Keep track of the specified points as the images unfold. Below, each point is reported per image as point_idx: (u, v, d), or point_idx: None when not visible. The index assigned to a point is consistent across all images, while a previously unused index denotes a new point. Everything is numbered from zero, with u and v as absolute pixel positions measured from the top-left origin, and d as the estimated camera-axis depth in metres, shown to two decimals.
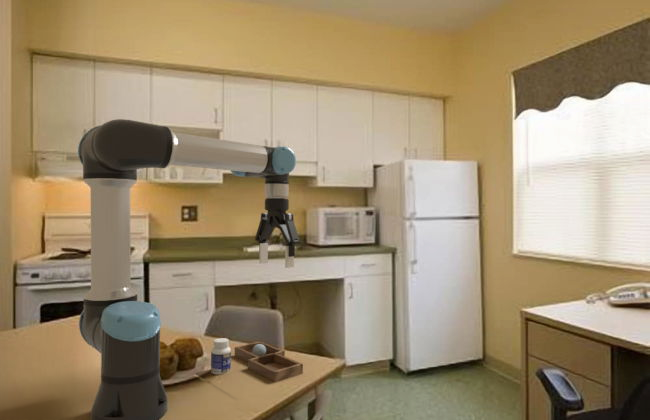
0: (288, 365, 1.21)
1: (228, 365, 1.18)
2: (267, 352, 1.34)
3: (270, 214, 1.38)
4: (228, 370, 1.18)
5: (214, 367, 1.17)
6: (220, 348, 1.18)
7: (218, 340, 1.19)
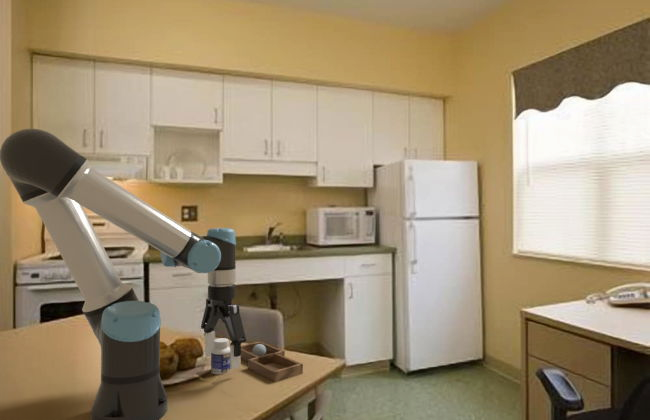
0: (288, 365, 1.21)
1: (228, 365, 1.18)
2: (267, 352, 1.34)
3: (215, 302, 1.20)
4: (228, 370, 1.18)
5: (214, 367, 1.17)
6: (220, 348, 1.18)
7: (218, 340, 1.19)
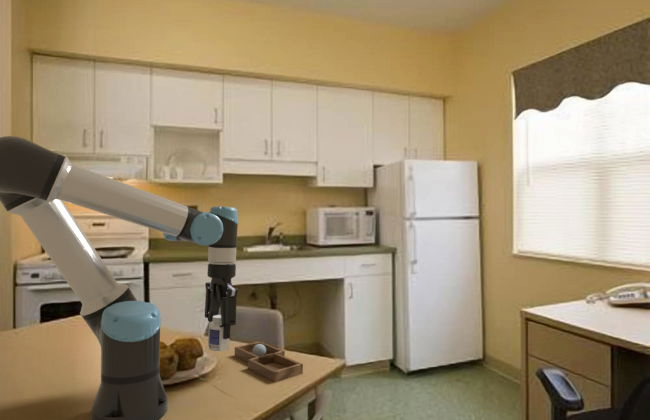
0: (288, 365, 1.21)
1: None
2: (267, 352, 1.34)
3: (213, 279, 1.20)
4: None
5: (212, 342, 1.17)
6: (218, 324, 1.18)
7: (217, 316, 1.19)
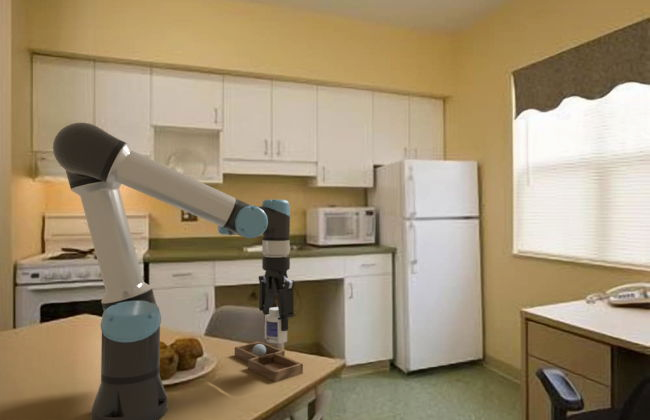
0: (288, 365, 1.21)
1: None
2: (267, 352, 1.34)
3: (268, 272, 1.21)
4: None
5: (270, 335, 1.17)
6: (275, 316, 1.18)
7: (273, 308, 1.20)
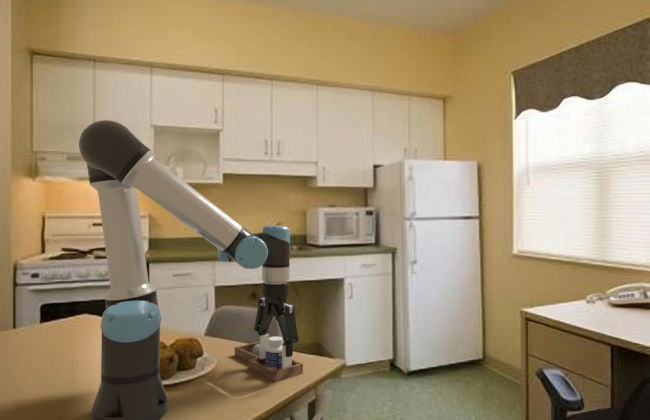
0: None
1: None
2: None
3: (268, 299, 1.20)
4: None
5: (269, 365, 1.17)
6: (275, 346, 1.18)
7: (272, 338, 1.20)
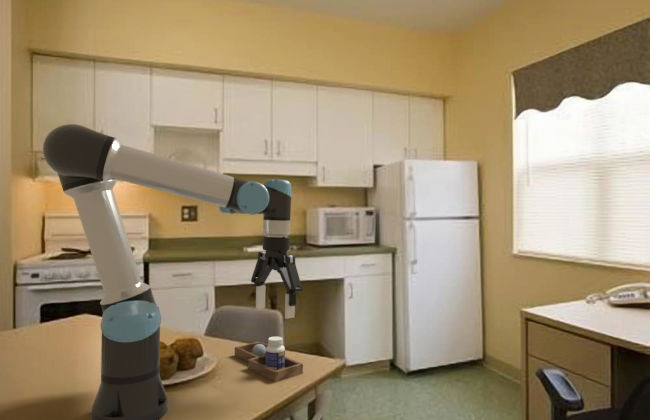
0: (288, 365, 1.21)
1: (283, 363, 1.19)
2: None
3: (268, 254, 1.20)
4: None
5: (269, 365, 1.17)
6: (275, 346, 1.18)
7: (272, 338, 1.20)
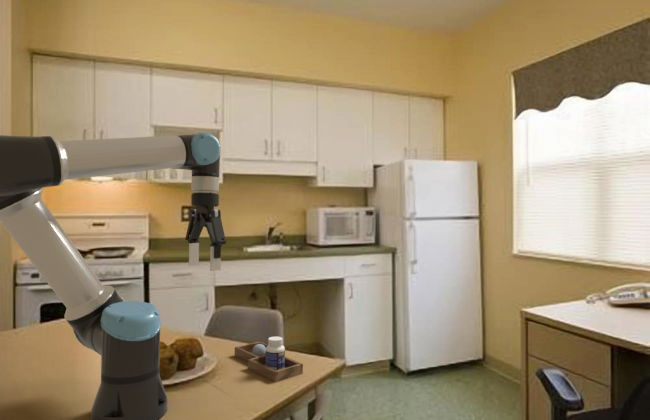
0: (288, 365, 1.21)
1: (283, 363, 1.19)
2: None
3: (198, 211, 1.23)
4: None
5: (269, 365, 1.17)
6: (275, 346, 1.18)
7: (272, 338, 1.20)
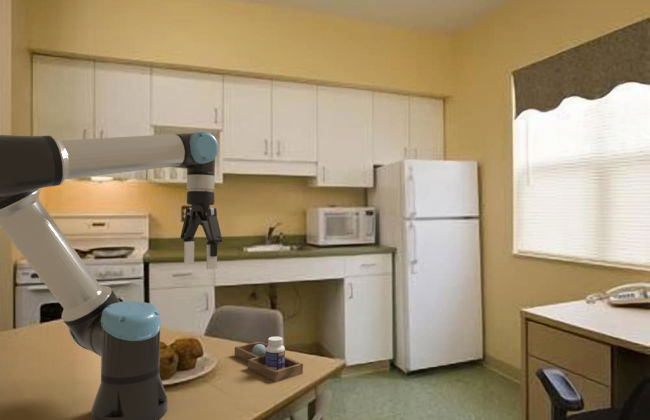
0: (288, 365, 1.21)
1: (283, 363, 1.19)
2: None
3: (194, 209, 1.23)
4: None
5: (269, 365, 1.17)
6: (275, 346, 1.18)
7: (272, 338, 1.20)
